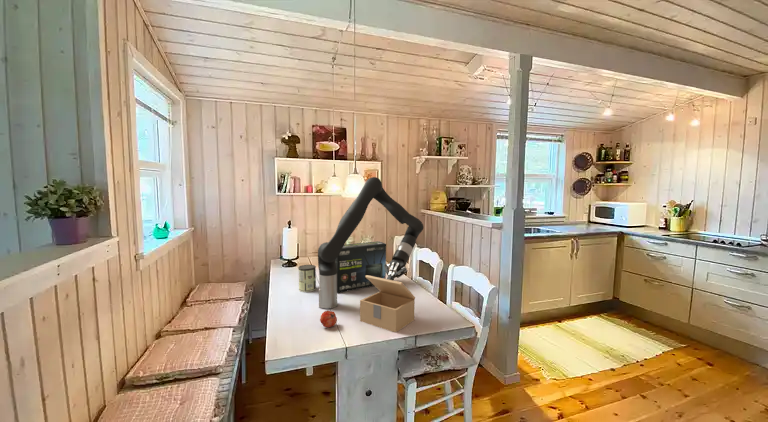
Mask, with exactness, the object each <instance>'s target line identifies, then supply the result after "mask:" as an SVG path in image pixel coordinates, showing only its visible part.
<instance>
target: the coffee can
mask: <svg viewBox="0 0 768 422" xmlns="http://www.w3.org/2000/svg"><path fill="white" fill-rule="evenodd" d="M297 268H298V291H299V292H302V293H310V292H311V293H312V292H314V291H316V290H317V279H316V277H317V276H316V274H317V273H316V272H317V271H316V268H317V266H316V265H314V264H302V265H299V266H298V267H297Z"/></svg>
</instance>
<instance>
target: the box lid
mask: <svg viewBox="0 0 768 422" xmlns="http://www.w3.org/2000/svg"><path fill="white" fill-rule="evenodd" d="M365 277H366V278H367V279H368V280H369V281H370V282H371V283H372V284H373V285H374V286H373V287H375V288H376V289H377V290H378V292H380V291H381V292H385V293H390V294H394V295H398V296H402V297H406V298H410V299H416V297H415V296H414V294H413V293H412V292H411V291H410V290H409V288H408V287H406V285H405V284H404V282H401V281H396V280H388V279H387V278H386V279H383V278H379V277H374V276H369V275H366V276H365Z"/></svg>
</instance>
